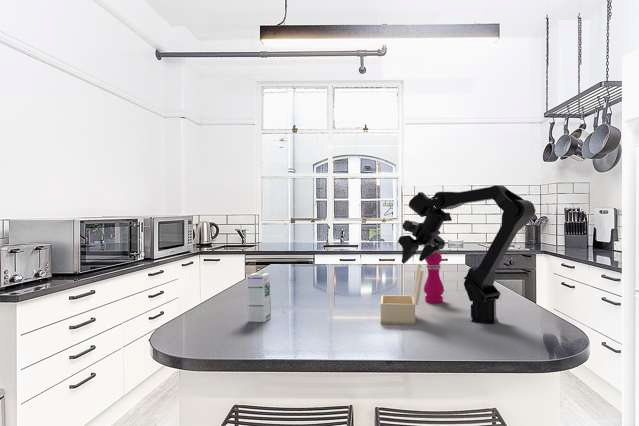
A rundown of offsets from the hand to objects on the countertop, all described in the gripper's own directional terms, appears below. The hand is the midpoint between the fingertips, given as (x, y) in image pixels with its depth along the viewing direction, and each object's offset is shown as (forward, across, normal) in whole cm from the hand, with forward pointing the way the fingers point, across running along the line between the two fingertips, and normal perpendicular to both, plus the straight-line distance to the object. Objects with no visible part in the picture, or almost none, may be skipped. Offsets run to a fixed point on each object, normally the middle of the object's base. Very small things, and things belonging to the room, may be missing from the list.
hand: (411, 261), depth 161 cm
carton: (+8, +17, +16) cm, 25 cm away
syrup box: (+24, +50, -8) cm, 56 cm away
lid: (-3, +13, +13) cm, 19 cm away
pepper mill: (+14, -13, +8) cm, 21 cm away
